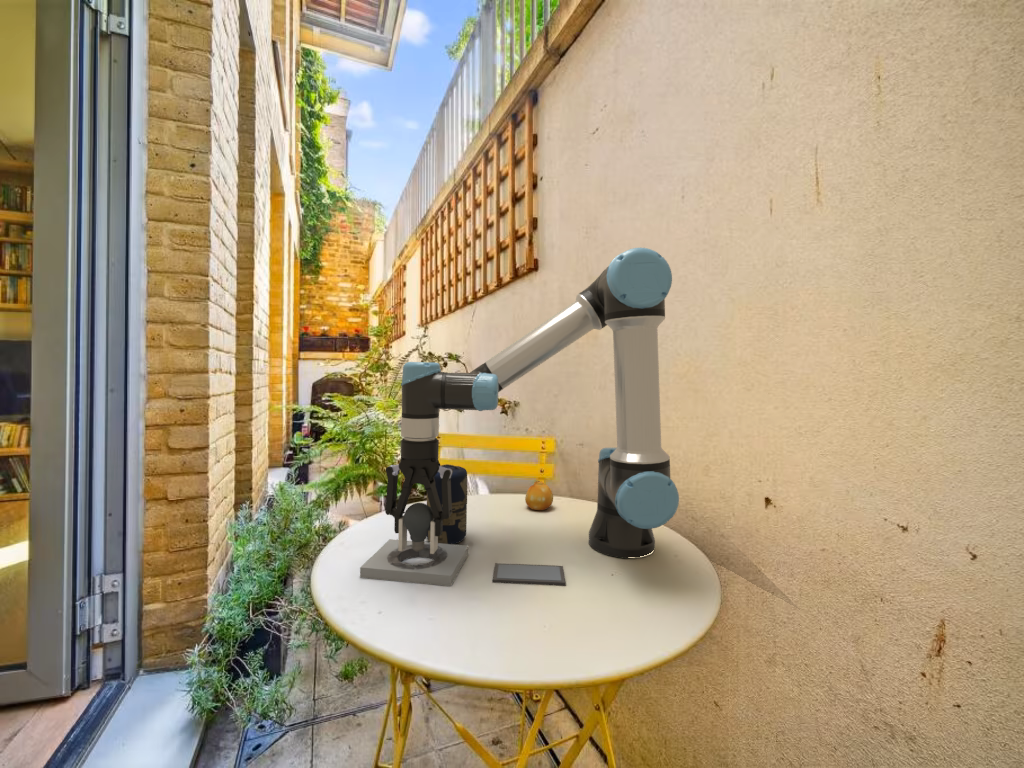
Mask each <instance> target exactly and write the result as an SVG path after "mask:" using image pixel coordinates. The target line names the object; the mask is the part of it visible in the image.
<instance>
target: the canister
mask: <svg viewBox="0 0 1024 768" xmlns="http://www.w3.org/2000/svg"><path fill="white" fill-rule="evenodd" d="M440 465H441V466H442V467H445V468H452V469H453V473H452V476H451V500H452V514H451V515H450V516H449V518H448V519H443V532H442V534H441V535H440V537H439V536H438V543H442V544H454V545H456V544H458V543H460V542H462V541H463V540H464V539H466V536H467V526H468V525H467V516H468V515H467V513H468V512H467V511H468V505H467V504H468V471H467V469H466V468H465V467H462V466H459V465H453V464H447V463H446V464H440ZM434 479H435V486H436V490H437V493H438V497H439V500H440V504H441V507H442V511H443V504H442V478H441V477H440V473H439V472H437V474H436V475H435V476H434ZM426 505H428V506H429V507H430V508H431V506H430V502H429V499H428V495H427V494H426ZM431 510H432V509H431ZM426 539H427V540H428V542H430V528H429V530H428V532H427V535H426Z"/></svg>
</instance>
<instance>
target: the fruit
mask: <svg viewBox="0 0 1024 768" xmlns="http://www.w3.org/2000/svg"><path fill="white" fill-rule="evenodd" d="M524 498H525V504H526V506H527V507H529V508H530V509H531V510H535V511H544V510H548V509H549V508H550V507H551V506H552V504H553V502H554V494H553V491H552V490H551V488H550V486H549V485H547V484H546V483H544V482H543V481H540V480H537V481H536V480H535V481H534V483H533V485H530V487H528V489H527V491H526V494H525V497H524Z"/></svg>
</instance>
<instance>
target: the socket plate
mask: <svg viewBox="0 0 1024 768" xmlns="http://www.w3.org/2000/svg"><path fill="white" fill-rule="evenodd" d="M398 543H399V539H392V538H391V539H388V540H387V541H386V542H385V543H384V544H383V545H382V546H381V547H380V548H379V549H378V550H377V551H375V552H374V554H372V556H370V557H369V558H368V559H367V560H366V561H365V562H364V563H363V564H362V565H361V566H360V567H359V578H360V579H371V580H383V581H391V582H393V581H394V582H403V583H411V584H412V583H414V584H424V585H435V586H445V587H452V585H453V584H454V581H455V580H456V578H457V577H458V574H459V572H460V571H461V568H462V567H463V565H464V563H465V561H466V559H467V558H468V556H469V545H464V544H442V543H438V549H437V550H436V551H435V553H434V554H430V541H428V542H427V541H424V548H423V550H421V551H419V552H416V551H414V550H413V549H412V540H407V546H406V547H405V548H404V550H403V551H398ZM412 558H429V559H432V560H431V561H429V562H427V563H420V564H409V563H404V561H405V560H408V559H412Z"/></svg>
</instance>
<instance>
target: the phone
mask: <svg viewBox="0 0 1024 768" xmlns="http://www.w3.org/2000/svg"><path fill="white" fill-rule="evenodd" d="M564 570H565V569H564V565H553V564H552V565H550V564H529V563H527V564H525V563H503V562H501V563H500V562H495V563H494V567H493V575H492V584H493V583H495V584H509V585H510V584H512V585H513V584H515V585H534V586H535V585H537V586H554V587H556V586H559V587H566V585H567V583H566V582H567V581H566V576H565V571H564Z"/></svg>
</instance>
